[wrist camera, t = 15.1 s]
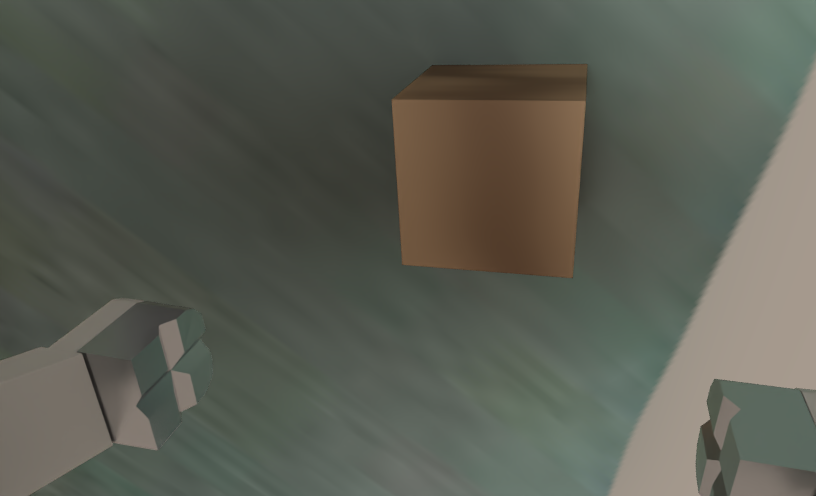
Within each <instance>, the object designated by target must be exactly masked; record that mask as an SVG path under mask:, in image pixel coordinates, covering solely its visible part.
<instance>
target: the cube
mask: <svg viewBox="0 0 816 496" xmlns="http://www.w3.org/2000/svg"><path fill="white" fill-rule="evenodd" d="M586 85H587V64H529V65H432V66H431V67H430V68H429V69H427V70H426V71H425V72H424V73H423V74H421V75H420V76H419V77H418V78H417V79H415V80H414V81H413V82H412V83H411V84H409V85H408V86H407V87H406V88H405V89H404V90H402V91H401V92H400V93H399V94H398V95H396V96H395V97H394V98H393V99H392V113H393V129H394V144H395V160H396V175H397V191H398V206H399V222H400V237H401V253H402V265H411V266H424V267H437V268H450V269H463V270H475V271H488V272H501V273H514V274H527V275H540V276H552V277H565V278H573V267H574V254H575V240H576V227H577V213H578V200H579V187H580V173H581V160H582V146H583V133H584V120H585V106H586Z"/></svg>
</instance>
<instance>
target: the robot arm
mask: <svg viewBox="0 0 816 496" xmlns="http://www.w3.org/2000/svg"><path fill="white" fill-rule="evenodd" d="M205 331H206V329H205V325H204V321H203V317H202V314H201V313H200V312H198V311H197V310H195V309H194V308H188V307H181V306H175V305H169V304H162V303H156V302H150V301H142V300H135V299H128V298H118V299H112V300H111V301H110V302H108V303H107V304H106V305H104V306H103V307H102V308H100V309H99V310H98V311H96V312H95V313H94V314H92V315H91V316H90V317H88V318H87V319H86V320H85V321H83V322H82V323H81V324H79V325H78V326H77V327H75V328H74V329H73V330H71V331H70V332H69V333H67V334H66V335H65V336H63V337H62V338H61V339H59V340H58V341H57V342H55V343H54V344H53V345H51V346H50V347H49V348H45V347H39V348H36V349H33V350H30V351H27V352H24V353H21V354H18V355H15V356H13V357H10V358H7V359H4V360H1V361H0V496H29V495H30V494H32V493H34V492H35V491H37V490H39V489H40V488H42V487H44V486H45V485H47V484H49V483H50V482H52V481H54V480H55V479H57V478H59V477H60V476H62V475H64V474H65V473H67V472H69V471H71V470H72V469H74V468H76V467H77V466H79V465H81V464H82V463H84V462H86V461H87V460H89V459H91V458H92V457H94V456H96V455H97V454H99V453H101V452H102V451H104V450H106V449H107V448H109V447H111V446H112V445H113V443H117V444H123V445H129V446H135V447H141V448H147V449H153V450H158V449H159V448H160V447H161V446H162V445H163V444H164V442H165V441H166V440H167V439H168V438H169V437H170V435H171V434H172V433H173V432H174V431H175V430H176V428H177V427H178V426H179V425H180V424H181V422H182V413H181V412H182V411H184V410H186V409H188V408H190V407H192V406H194V405H196V404H198V402H199V401H200V400H201V399H202V397H203V396H204V395H205V394H206V392H207V390H208V387H209V384H210V382H211V379H212V375H213V360H212V356H211V351H210V350H209V349H208V348H207V346H206V345H205V344H204V343H203V342H202V341H201V338H202V336H203V334H204V332H205ZM707 405H708V410H709V415H710V420H709V421H708V422H706V423H705V424H703V425H702V426H701V428H700V433H699V438H698V443H697V453H696V477H697V485H698V491H699V494H700V495H701V496H816V390H810V389H800V388H795V389H790V388H781V387H774V386H767V385H759V384H751V383H743V382H735V381H727V380H719V379H714V381H713V383H712V385H711V387H710V391H709V395H708V399H707Z"/></svg>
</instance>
